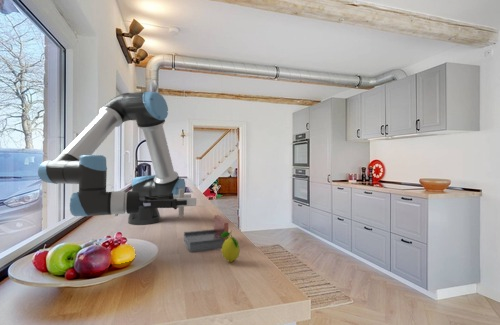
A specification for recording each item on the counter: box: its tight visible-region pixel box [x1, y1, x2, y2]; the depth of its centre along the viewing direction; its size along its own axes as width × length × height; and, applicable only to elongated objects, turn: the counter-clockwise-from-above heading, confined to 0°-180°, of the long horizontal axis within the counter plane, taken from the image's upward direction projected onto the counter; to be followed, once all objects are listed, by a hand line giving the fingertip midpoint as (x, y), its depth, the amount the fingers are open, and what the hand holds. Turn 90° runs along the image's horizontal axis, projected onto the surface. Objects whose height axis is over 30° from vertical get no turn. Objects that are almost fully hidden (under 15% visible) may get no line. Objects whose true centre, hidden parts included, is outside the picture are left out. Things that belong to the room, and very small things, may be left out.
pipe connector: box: [177, 189, 185, 218], centre depth 94 cm, size 10×10×10 cm
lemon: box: [221, 231, 241, 263], centre depth 80 cm, size 7×6×10 cm
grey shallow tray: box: [183, 214, 229, 253], centre depth 98 cm, size 14×14×9 cm
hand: (193, 199), depth 96 cm, fingers closed on pipe connector, 10 cm apart
